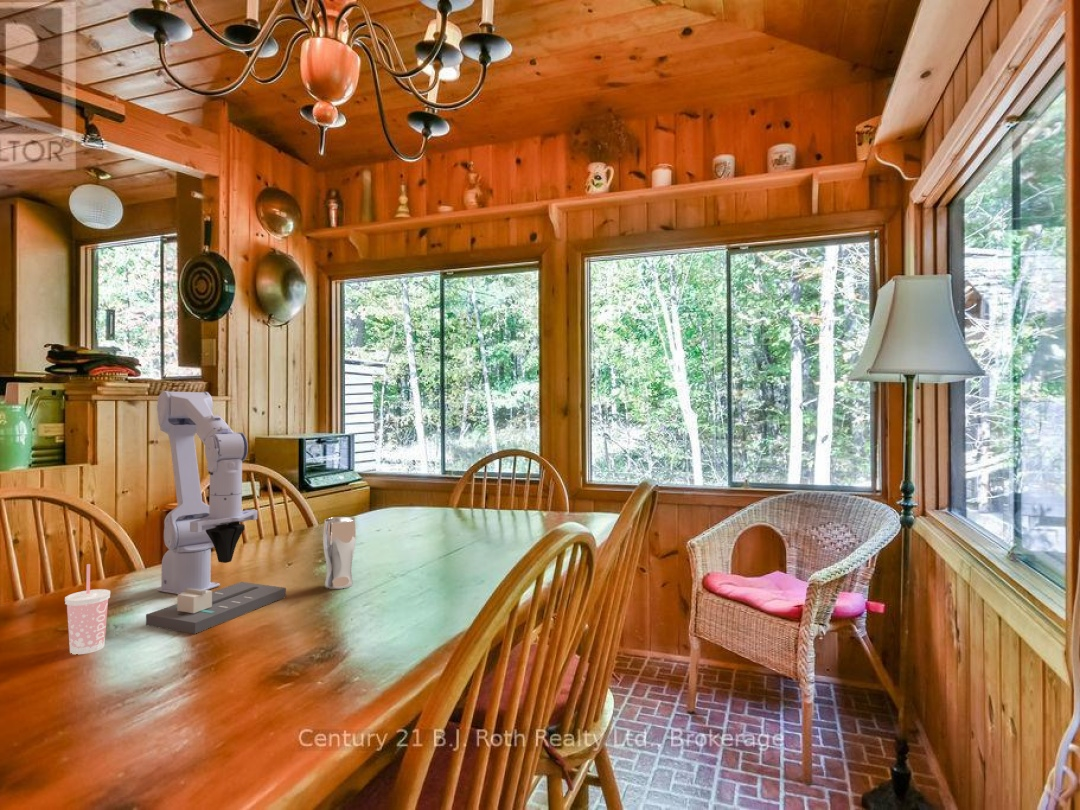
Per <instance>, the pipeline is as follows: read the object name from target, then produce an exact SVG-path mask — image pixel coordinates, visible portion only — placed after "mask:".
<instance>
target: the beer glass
mask: <svg viewBox="0 0 1080 810" xmlns="http://www.w3.org/2000/svg"><path fill="white" fill-rule="evenodd" d="M356 536H357V533H356V520H355V517H352V516H334V517H333V516H332V517H328V518H324V525H323V537H322V541H323V544H322V545H323V552H324V558H325V564H326V576H325V582H324V588H326V589H328V588H329V590H344V589H348V588H350V586H351V587H352V586H353V585H354V580H353V575H352V566H353V565H352V564H353V560H354V559H353V558H354V555H355V549H356V547H355V546H356V540H357V539H356ZM343 588H344V589H343Z"/></svg>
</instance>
